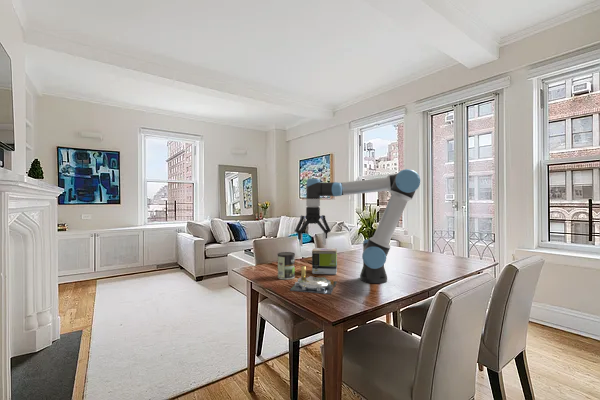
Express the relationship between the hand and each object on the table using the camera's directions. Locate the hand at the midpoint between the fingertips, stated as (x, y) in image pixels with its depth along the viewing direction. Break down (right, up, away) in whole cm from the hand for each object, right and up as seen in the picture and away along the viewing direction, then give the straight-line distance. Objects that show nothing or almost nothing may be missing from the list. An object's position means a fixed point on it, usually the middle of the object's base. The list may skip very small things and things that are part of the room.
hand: (312, 245), depth 164 cm
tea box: (+9, -21, +22) cm, 32 cm away
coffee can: (-15, -21, +11) cm, 28 cm away
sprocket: (+1, -21, -7) cm, 22 cm away
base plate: (+1, -21, -7) cm, 22 cm away
